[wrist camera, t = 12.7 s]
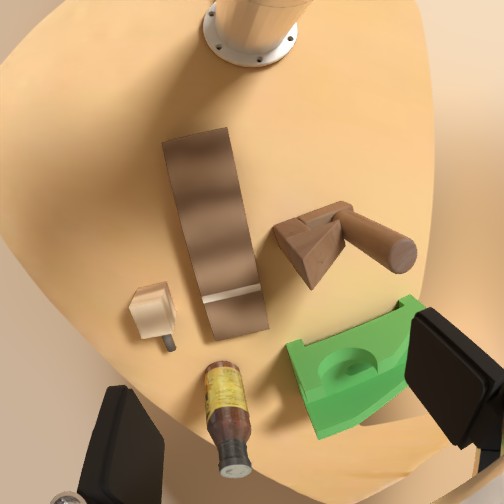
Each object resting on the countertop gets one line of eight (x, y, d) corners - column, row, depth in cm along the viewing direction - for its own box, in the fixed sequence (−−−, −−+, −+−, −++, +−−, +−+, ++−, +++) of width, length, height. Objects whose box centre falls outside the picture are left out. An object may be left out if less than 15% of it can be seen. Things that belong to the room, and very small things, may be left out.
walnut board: (165, 143, 36) (161, 142, 33) (225, 129, 37) (227, 126, 34) (215, 330, 46) (215, 341, 43) (265, 318, 46) (269, 329, 43)
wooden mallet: (271, 225, 42) (314, 275, 25) (341, 199, 42) (417, 231, 25) (279, 249, 43) (323, 311, 26) (347, 223, 43) (421, 266, 26)
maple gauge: (138, 287, 42) (128, 307, 36) (166, 281, 42) (160, 300, 37) (160, 343, 45) (155, 366, 40) (186, 338, 46) (184, 361, 40)
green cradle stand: (300, 393, 53) (318, 440, 42) (285, 342, 49) (304, 391, 37) (409, 347, 54) (441, 382, 42) (409, 293, 49) (448, 325, 38)
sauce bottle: (197, 366, 47) (198, 465, 29) (232, 354, 47) (247, 453, 29) (214, 391, 50) (221, 485, 31) (247, 380, 50) (266, 474, 31)
